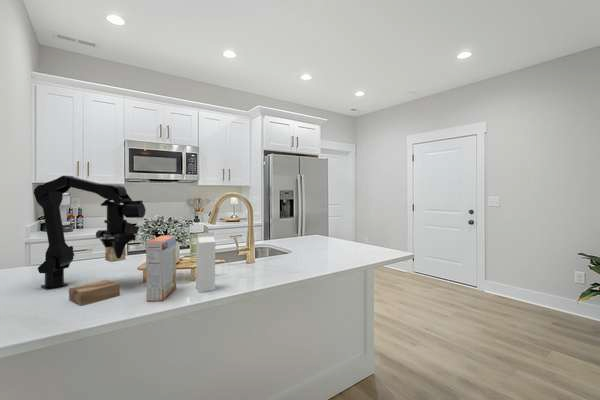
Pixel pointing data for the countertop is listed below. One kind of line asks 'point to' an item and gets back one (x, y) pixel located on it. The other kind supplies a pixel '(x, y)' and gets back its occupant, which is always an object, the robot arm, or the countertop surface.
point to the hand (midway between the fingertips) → (115, 257)
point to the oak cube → (113, 255)
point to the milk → (205, 262)
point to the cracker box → (160, 267)
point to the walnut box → (93, 292)
